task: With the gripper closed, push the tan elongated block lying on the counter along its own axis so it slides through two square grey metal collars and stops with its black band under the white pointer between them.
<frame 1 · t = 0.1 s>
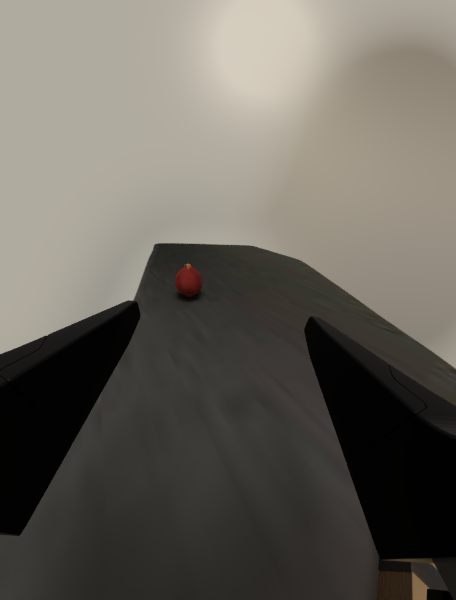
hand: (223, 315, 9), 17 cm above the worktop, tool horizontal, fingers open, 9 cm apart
tan elongated block: (410, 590, 12), on the worktop
onion: (189, 296, 40), on the worktop
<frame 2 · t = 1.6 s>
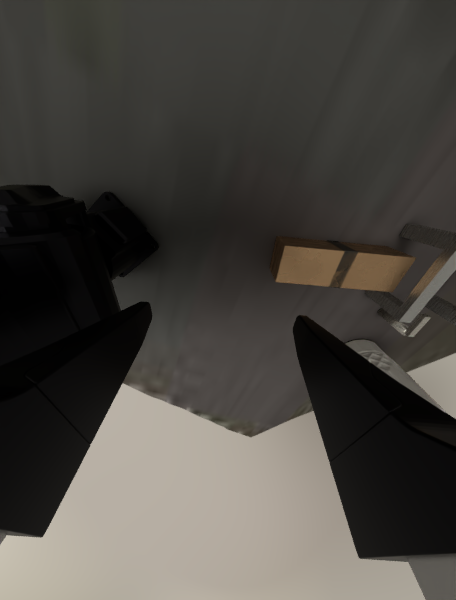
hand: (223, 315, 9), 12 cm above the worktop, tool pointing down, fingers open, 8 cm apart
collar rail: (414, 265, 20), on the worktop
white cup: (352, 352, 28), on the worktop
tan elongated block: (325, 257, 20), on the worktop
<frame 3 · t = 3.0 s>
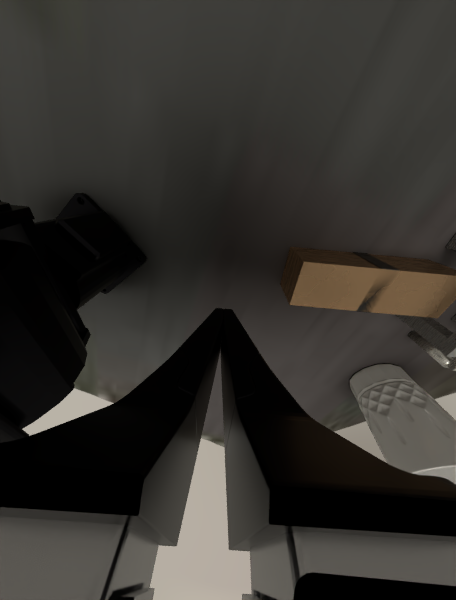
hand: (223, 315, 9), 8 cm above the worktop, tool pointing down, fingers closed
white cup: (374, 377, 24), on the worktop
tan elongated block: (349, 272, 16), on the worktop
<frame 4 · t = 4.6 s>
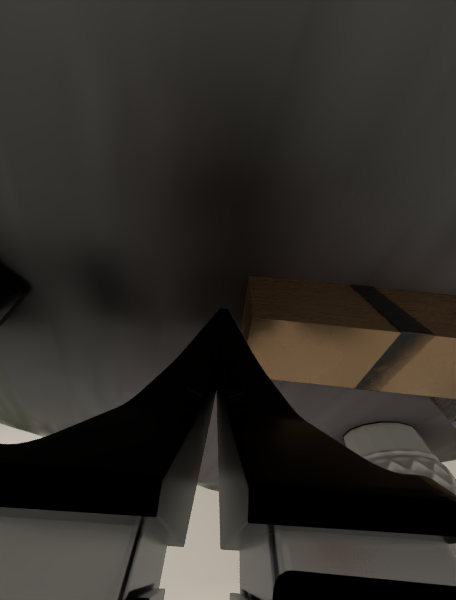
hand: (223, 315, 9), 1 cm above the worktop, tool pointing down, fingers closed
white cup: (376, 433, 19), on the worktop
tan elongated block: (346, 313, 10), on the worktop, touching gripper
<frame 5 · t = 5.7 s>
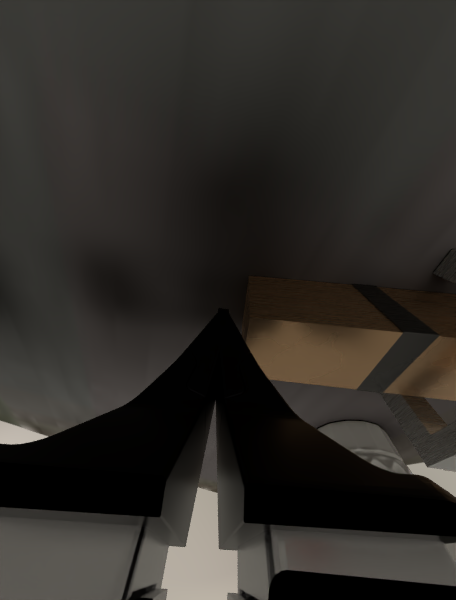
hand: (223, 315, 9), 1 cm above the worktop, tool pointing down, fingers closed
white cup: (345, 432, 18), on the worktop
tan elongated block: (348, 313, 10), on the worktop, touching gripper
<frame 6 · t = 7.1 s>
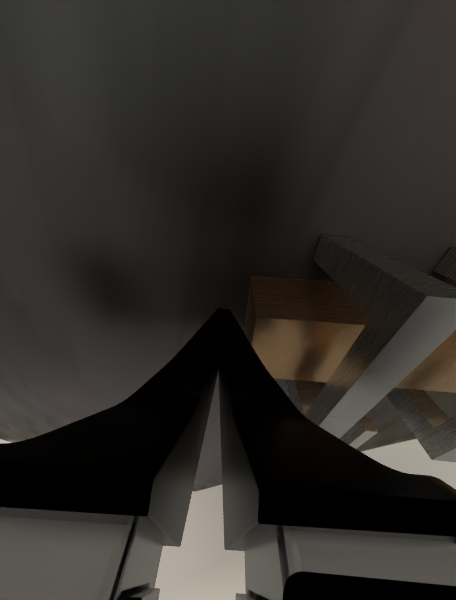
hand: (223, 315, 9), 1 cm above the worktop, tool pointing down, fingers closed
collar rail: (356, 312, 10), on the worktop
tan elongated block: (349, 310, 10), on the worktop, touching gripper
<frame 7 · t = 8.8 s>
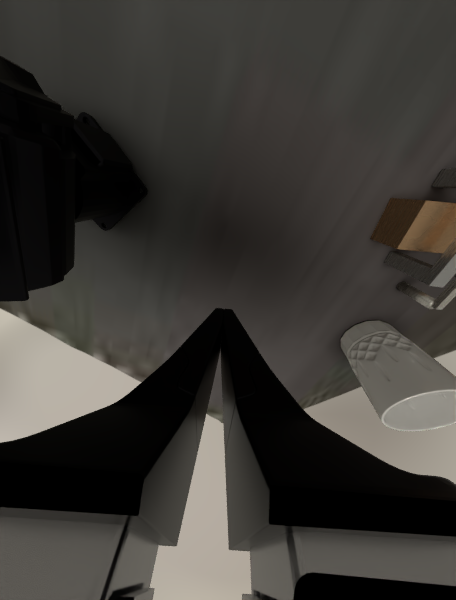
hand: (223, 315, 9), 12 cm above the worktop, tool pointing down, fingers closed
collar rail: (445, 226, 17), on the worktop
white cup: (364, 336, 25), on the worktop
tan elongated block: (441, 225, 17), on the worktop
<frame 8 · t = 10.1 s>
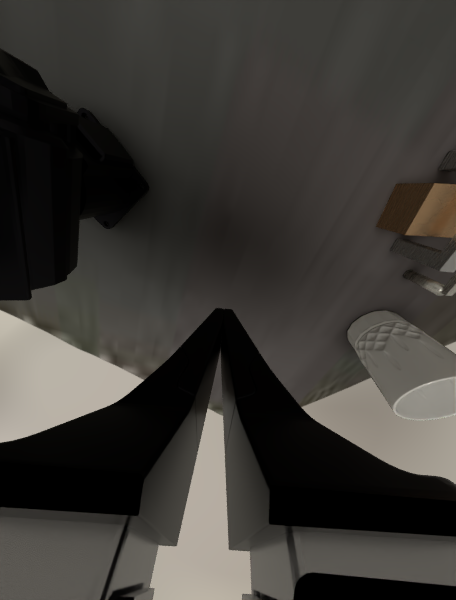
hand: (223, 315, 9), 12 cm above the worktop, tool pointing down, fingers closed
collar rail: (452, 211, 17), on the worktop
white cup: (371, 327, 25), on the worktop
tan elongated block: (448, 209, 17), on the worktop
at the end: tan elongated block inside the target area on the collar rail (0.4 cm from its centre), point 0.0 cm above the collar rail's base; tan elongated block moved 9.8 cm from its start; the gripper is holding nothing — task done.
